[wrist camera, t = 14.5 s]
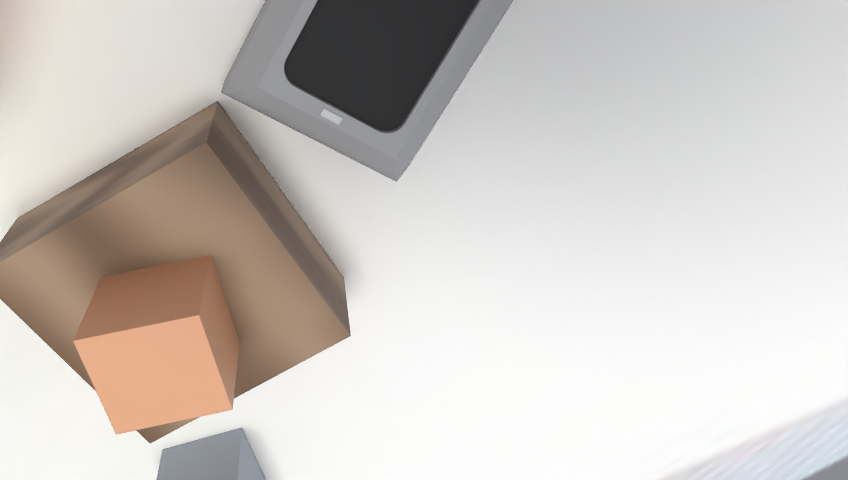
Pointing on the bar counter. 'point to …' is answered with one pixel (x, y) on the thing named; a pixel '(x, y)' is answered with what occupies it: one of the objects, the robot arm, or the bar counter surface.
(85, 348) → the rust cube
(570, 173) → the bar counter surface
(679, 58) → the bar counter surface
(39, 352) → the bar counter surface
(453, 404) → the bar counter surface
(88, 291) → the walnut block
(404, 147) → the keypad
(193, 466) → the grey cube
